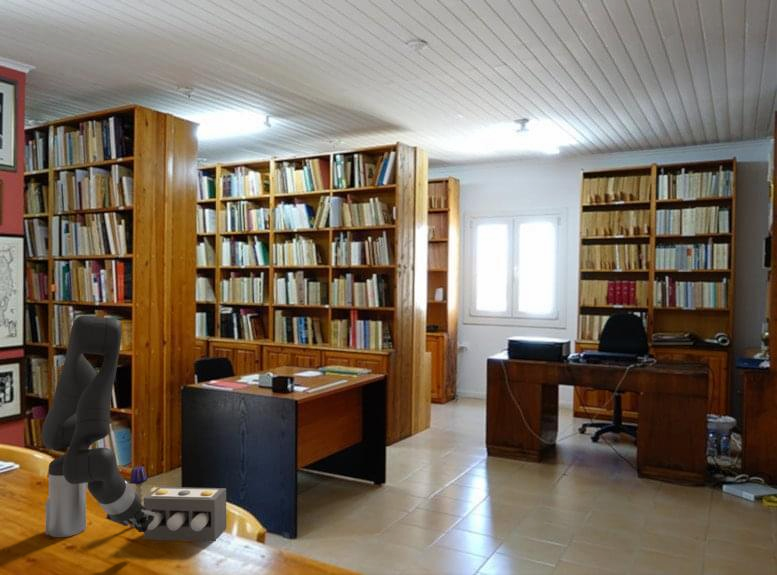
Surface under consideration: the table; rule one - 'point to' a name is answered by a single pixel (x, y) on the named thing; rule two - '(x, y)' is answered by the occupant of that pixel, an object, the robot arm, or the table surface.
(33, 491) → the table surface
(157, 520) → the button left
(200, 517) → the button right
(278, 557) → the table surface
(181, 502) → the button box
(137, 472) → the toy lamp
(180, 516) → the button middle
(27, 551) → the table surface
